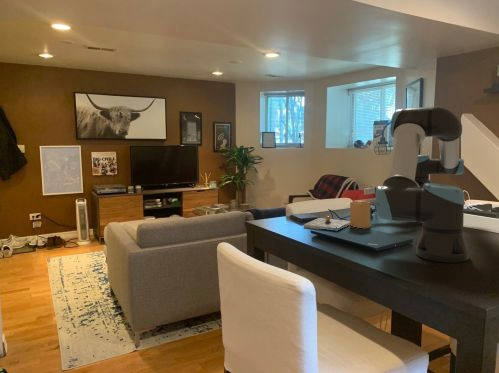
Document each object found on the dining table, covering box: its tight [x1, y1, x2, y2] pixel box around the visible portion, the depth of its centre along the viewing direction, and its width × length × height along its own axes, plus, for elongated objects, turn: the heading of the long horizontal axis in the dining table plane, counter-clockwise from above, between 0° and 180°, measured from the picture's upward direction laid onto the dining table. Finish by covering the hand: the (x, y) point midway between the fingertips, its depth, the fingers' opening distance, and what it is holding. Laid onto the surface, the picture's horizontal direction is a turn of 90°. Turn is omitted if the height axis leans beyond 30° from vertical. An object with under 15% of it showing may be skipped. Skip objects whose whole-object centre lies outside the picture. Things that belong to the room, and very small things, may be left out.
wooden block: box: [349, 199, 371, 229], centre depth 161 cm, size 6×6×12 cm
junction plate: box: [303, 215, 350, 230], centre depth 165 cm, size 16×16×4 cm
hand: (375, 193), depth 165 cm, fingers open, 13 cm apart
